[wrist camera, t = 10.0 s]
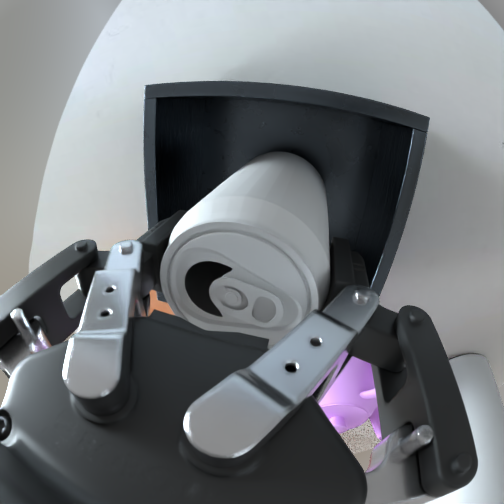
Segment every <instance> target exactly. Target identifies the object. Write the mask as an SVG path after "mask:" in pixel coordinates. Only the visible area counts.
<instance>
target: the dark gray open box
mask: <svg viewBox="0 0 504 504" xmlns="http://www.w3.org/2000/svg"><path fill="white" fill-rule="evenodd" d="M144 98H145V99H144V178H145V196H146V210H147V222H148V231H149V230H150V229H151V228H152V227H154V226H155V225H156V224H157V223H158V222H160V221H162V220H164V219H167V218H170V217H171V216H172V215H174V214H175V213H176V212H177V211H179V210H184V211H189V210H190V209H191V208H192V207H194V206H195V205H196V204H197V203H198V202H200V201H201V200H202V199H203V198H204V197H206V196H207V195H208V194H209V193H210V192H212V191H213V190H214V189H215V188H216V187H218V186H219V185H220V184H221V183H223V182H224V181H225V180H226V179H228V178H229V177H230V176H231V175H233V174H234V173H235V172H237V171H238V170H239V169H240V168H242V167H243V166H244V165H246V164H247V163H248V162H249V161H251V160H252V159H254V158H255V157H257V156H259V155H262V154H264V153H268V152H288V153H292V154H295V155H298V156H300V157H302V158H303V159H305V160H307V161H308V162H309V163H310V164H311V165H312V166H314V168H315V169H316V170H317V171H318V173H319V174H320V176H321V178H322V180H323V182H324V185H325V189H326V196H327V209H328V225H329V246H330V245H331V241H332V238H333V237H338V238H343V239H348V240H349V244H350V250H351V251H354V252H358V253H359V254H360V255H361V256H362V258H363V259H364V263H365V268H366V273H367V277H368V282H369V287H370V289H372V290H373V291H374V292H375V293H376V294H377V295H378V297H379V296H380V294H381V291H382V289H383V286H384V284H385V281H386V279H387V276H388V273H389V271H390V268H391V266H392V263H393V260H394V257H395V255H396V252H397V249H398V246H399V243H400V240H401V237H402V234H403V231H404V228H405V224H406V221H407V218H408V214H409V211H410V207H411V204H412V200H413V197H414V193H415V189H416V185H417V181H418V177H419V172H420V168H421V163H422V159H423V154H424V149H425V144H426V138H427V132H428V127H429V120H430V118H429V117H427V116H424V115H421V114H418V113H415V112H412V111H409V110H406V109H403V108H399V107H396V106H392V105H389V104H385V103H382V102H378V101H374V100H370V99H366V98H362V97H357V96H353V95H348V94H343V93H338V92H333V91H327V90H321V89H315V88H308V87H301V86H292V85H283V84H273V83H260V82H240V81H195V82H175V83H162V84H152V85H145V93H144ZM156 294H157V300H159V301H162V302H166V303H167V301H166V299H165V296H164V294H163V292H158V291H156ZM320 311H322V308H321V310H320Z"/></svg>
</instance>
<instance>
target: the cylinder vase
mask: <svg viewBox="0 0 504 504" xmlns="http://www.w3.org/2000/svg"><path fill="white" fill-rule="evenodd" d="M449 362H450V365H451V367H452V370H453V373H454V375H455V378H456V381H457V384H458V387H459V390H460V393H461V396H462V399H463V402H464V405H465V409H466V412H467V416H468V419H469V423H470V427H471V430H472V434H473V439H474V443H475V447H476V452H477V457H478V469H477V472H476V475H475V477H474V478H473V480H472V481H471V482H470V483H469V484H468V485H466V486H465V487H463V488H461V489H458V490H456V491H454V492H452V493H450V494H447V495H445V496H443V497H440V498H438V499H435V500H433V501H430V502H428V503H425V504H504V407H503V403H502V400H501V396H500V393H499V390H498V387H497V384H496V381H495V378H494V375H493V372H492V369H491V367H490V364H489V362H488V360H487V359H486V358H485V357H484V356H482V355H479V354H467V355H462V356H458V357H455V358H453V359H450V360H449Z"/></svg>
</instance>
